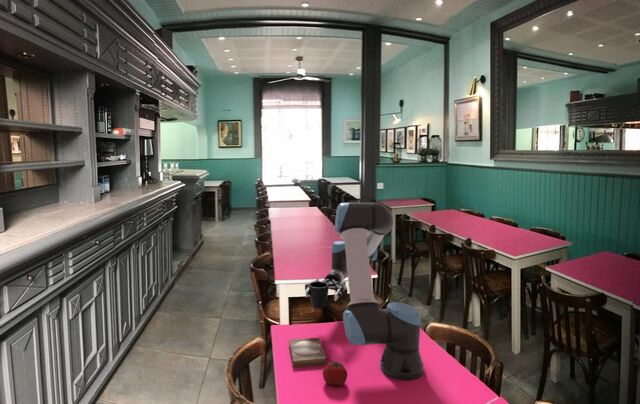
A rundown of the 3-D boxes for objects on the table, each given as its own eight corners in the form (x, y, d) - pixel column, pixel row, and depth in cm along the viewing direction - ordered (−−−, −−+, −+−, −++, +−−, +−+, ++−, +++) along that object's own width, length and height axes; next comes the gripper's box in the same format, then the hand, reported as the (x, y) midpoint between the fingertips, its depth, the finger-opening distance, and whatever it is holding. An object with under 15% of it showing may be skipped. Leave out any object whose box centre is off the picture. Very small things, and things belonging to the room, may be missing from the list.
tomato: (335, 373, 137) (335, 354, 136) (351, 383, 131) (352, 363, 130) (318, 382, 131) (318, 362, 130) (334, 393, 125) (335, 372, 124)
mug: (335, 311, 160) (335, 289, 159) (306, 309, 162) (307, 287, 161) (338, 303, 168) (338, 282, 167) (311, 301, 170) (311, 280, 169)
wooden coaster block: (326, 364, 142) (326, 357, 142) (293, 367, 140) (293, 360, 140) (319, 343, 158) (319, 336, 157) (289, 345, 156) (289, 338, 155)
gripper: (359, 290, 179) (348, 308, 158) (309, 284, 185) (293, 301, 165) (359, 274, 178) (349, 290, 157) (309, 269, 184) (293, 284, 164)
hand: (320, 295), depth 161 cm, fingers closed on mug, 12 cm apart
